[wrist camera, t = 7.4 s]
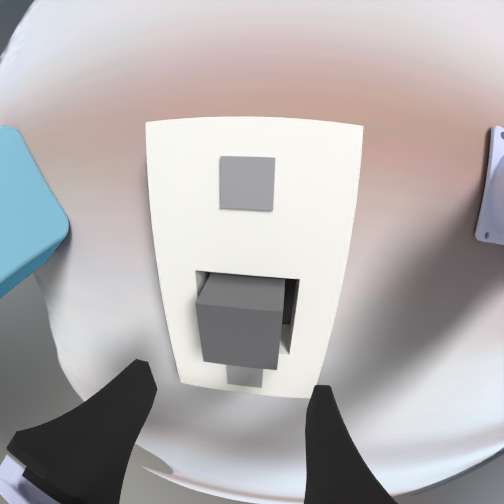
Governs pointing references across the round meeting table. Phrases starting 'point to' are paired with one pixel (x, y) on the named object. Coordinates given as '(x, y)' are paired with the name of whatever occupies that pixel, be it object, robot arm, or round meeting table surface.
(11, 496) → the robot arm
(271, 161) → the white socket board
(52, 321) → the round meeting table surface
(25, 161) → the data package
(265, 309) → the plug
